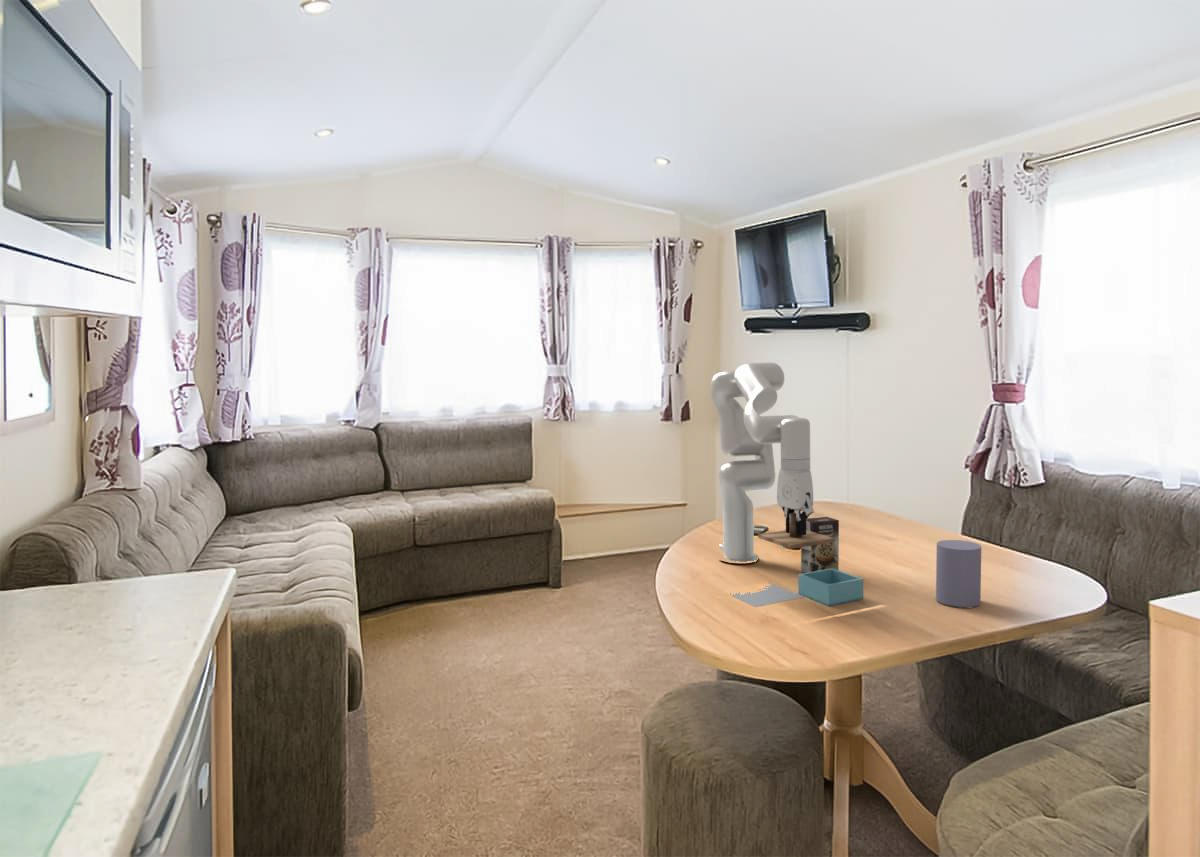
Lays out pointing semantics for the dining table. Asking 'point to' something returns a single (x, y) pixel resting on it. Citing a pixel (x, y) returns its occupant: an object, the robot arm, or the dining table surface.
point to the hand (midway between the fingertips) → (796, 533)
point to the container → (958, 573)
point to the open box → (830, 586)
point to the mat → (767, 596)
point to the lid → (795, 537)
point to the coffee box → (821, 546)
